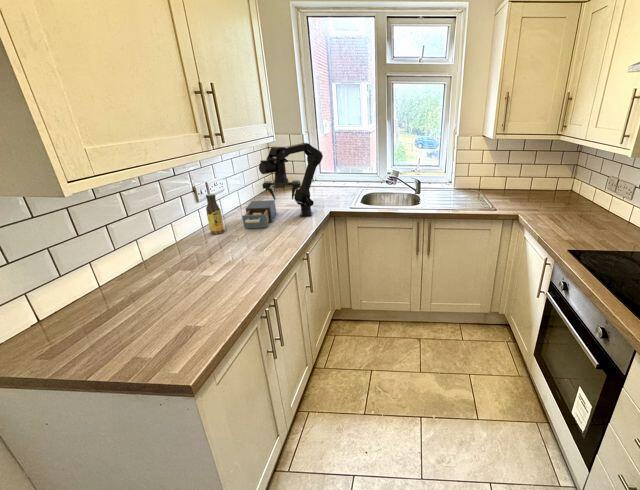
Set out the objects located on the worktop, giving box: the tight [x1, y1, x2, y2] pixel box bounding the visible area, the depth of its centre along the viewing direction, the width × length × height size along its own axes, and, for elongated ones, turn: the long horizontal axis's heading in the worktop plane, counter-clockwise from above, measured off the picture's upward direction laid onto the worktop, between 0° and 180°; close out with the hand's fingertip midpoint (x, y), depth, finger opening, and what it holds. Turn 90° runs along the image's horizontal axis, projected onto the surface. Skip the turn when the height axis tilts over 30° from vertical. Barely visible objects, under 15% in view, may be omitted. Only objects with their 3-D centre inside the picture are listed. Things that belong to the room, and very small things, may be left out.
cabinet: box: [245, 199, 277, 223], centre depth 179 cm, size 15×13×9 cm
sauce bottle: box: [205, 193, 225, 235], centre depth 157 cm, size 7×6×20 cm
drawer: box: [241, 209, 270, 229], centre depth 167 cm, size 18×11×7 cm, turn 11°
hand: (283, 199), depth 172 cm, fingers open, 9 cm apart
